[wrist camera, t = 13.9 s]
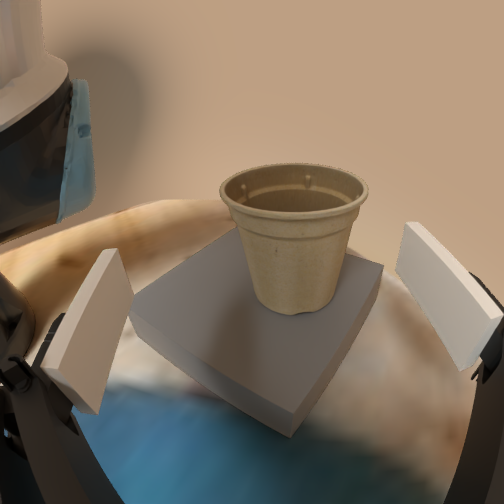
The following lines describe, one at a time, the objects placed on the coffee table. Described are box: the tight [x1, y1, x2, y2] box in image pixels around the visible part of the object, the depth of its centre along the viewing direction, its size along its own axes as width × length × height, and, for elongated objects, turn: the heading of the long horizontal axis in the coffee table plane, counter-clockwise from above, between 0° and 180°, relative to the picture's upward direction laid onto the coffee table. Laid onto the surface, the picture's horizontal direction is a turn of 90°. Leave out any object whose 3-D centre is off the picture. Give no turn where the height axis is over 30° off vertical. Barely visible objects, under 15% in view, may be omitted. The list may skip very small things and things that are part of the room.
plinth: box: [128, 227, 384, 438], centre depth 24 cm, size 16×16×4 cm
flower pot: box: [219, 163, 368, 315], centre depth 20 cm, size 9×9×9 cm
